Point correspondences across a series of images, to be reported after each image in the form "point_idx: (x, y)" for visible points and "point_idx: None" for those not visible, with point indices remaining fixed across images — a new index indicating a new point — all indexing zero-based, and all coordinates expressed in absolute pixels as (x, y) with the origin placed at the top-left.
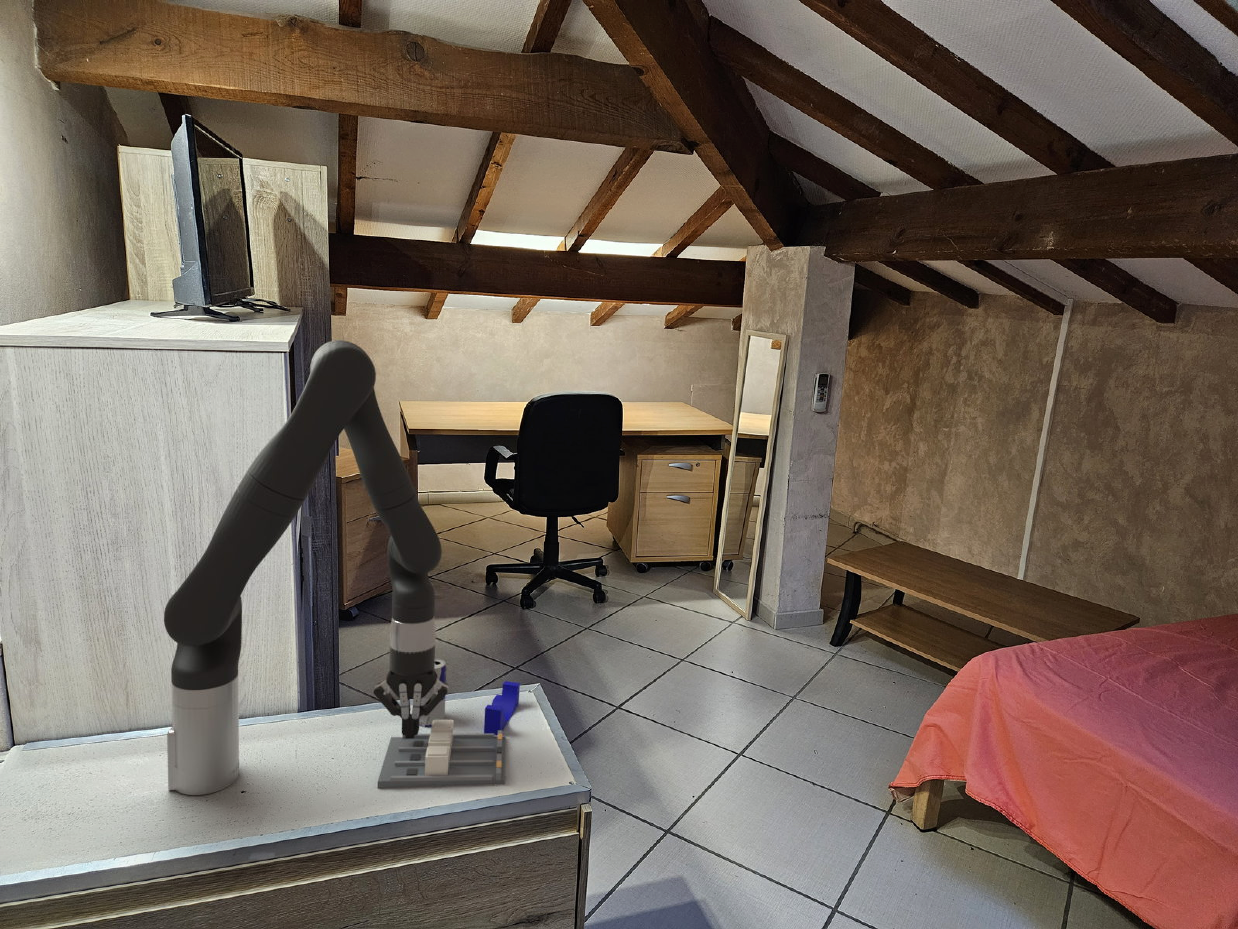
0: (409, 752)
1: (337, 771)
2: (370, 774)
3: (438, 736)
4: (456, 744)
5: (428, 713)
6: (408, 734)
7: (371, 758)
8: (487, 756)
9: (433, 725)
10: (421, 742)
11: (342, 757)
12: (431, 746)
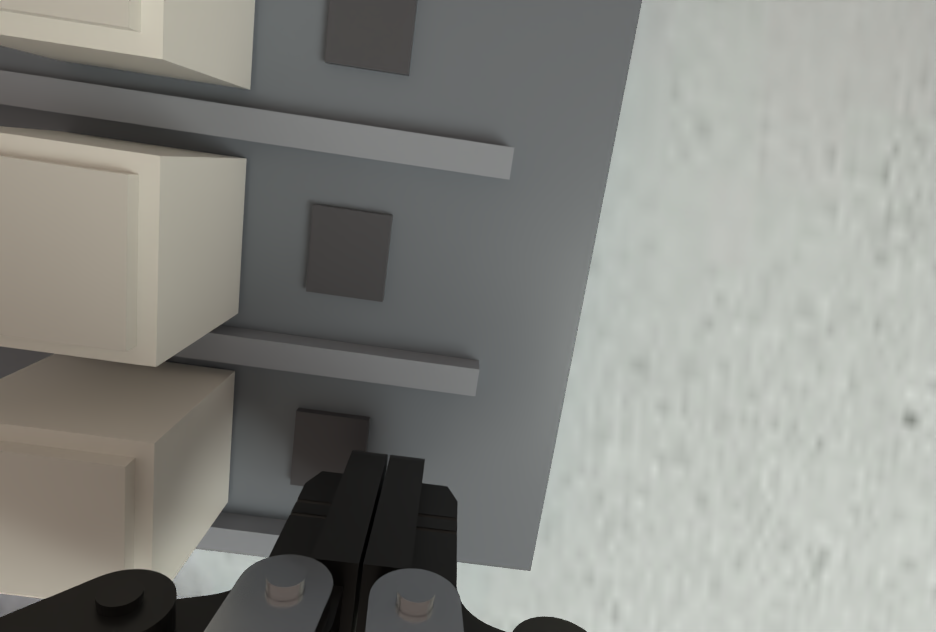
0: (396, 339)
1: (900, 243)
2: (679, 163)
3: (38, 246)
4: None
5: (88, 588)
6: (395, 469)
7: (660, 377)
8: None
9: (123, 496)
10: (306, 458)
11: (849, 419)
12: (97, 7)
